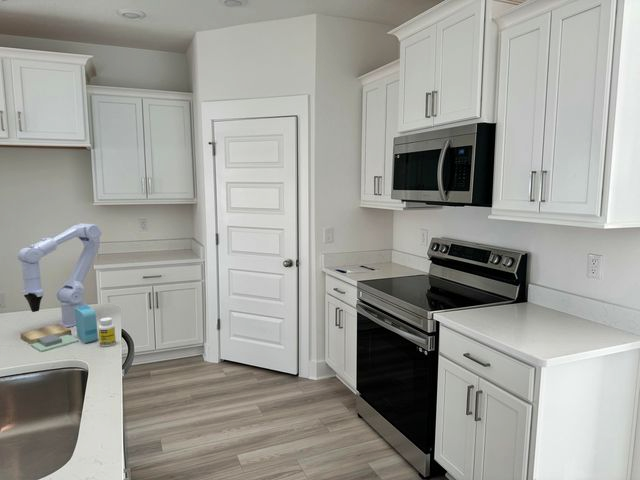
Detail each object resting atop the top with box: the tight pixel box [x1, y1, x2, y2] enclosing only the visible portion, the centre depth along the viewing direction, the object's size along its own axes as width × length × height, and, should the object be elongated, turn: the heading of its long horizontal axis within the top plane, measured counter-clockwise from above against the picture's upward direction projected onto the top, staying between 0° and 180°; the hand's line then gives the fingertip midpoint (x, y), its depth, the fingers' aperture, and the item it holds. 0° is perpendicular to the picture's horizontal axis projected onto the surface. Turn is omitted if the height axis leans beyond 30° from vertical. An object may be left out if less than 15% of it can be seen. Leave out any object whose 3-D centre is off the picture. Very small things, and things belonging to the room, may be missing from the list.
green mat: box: [30, 335, 80, 353], centre depth 167 cm, size 13×10×1 cm
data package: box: [75, 304, 99, 344], centre depth 171 cm, size 12×4×12 cm, turn 42°
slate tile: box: [37, 334, 62, 347], centre depth 166 cm, size 6×8×2 cm
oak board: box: [19, 323, 73, 345], centre depth 174 cm, size 14×12×2 cm
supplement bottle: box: [98, 317, 117, 347], centre depth 165 cm, size 5×5×10 cm
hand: (35, 311), depth 176 cm, fingers closed
